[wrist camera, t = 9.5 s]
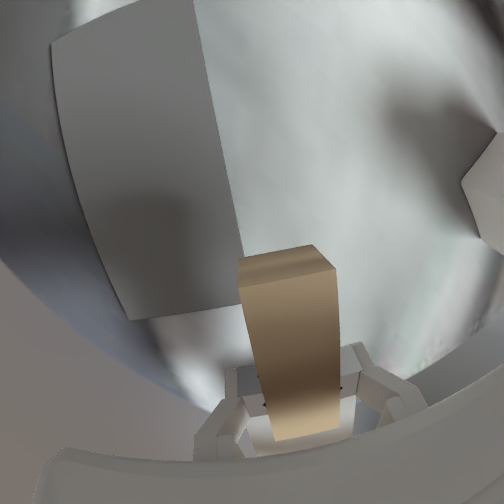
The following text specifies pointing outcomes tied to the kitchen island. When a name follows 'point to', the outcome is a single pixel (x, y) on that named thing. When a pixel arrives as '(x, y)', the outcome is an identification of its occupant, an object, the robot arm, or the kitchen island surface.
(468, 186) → the medicine bottle
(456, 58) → the kitchen island surface
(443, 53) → the kitchen island surface
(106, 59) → the mat
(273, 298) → the putty knife
